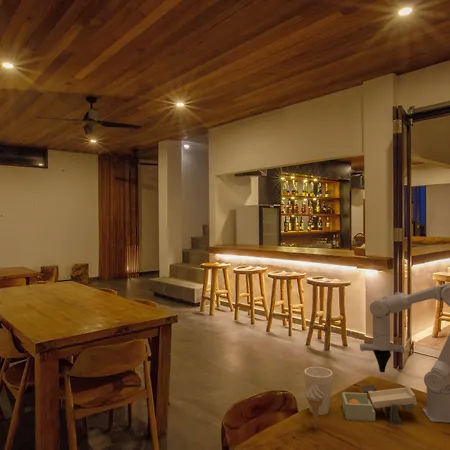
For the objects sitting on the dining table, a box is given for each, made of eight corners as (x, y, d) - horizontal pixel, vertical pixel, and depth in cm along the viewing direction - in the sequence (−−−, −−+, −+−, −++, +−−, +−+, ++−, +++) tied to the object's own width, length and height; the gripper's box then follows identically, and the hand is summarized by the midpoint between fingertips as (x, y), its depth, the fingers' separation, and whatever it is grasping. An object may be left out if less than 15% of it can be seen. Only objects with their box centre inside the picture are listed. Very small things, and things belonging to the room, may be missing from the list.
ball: (356, 395, 131) (345, 398, 132) (358, 400, 127) (346, 404, 128) (361, 406, 131) (349, 410, 132) (363, 412, 127) (351, 416, 128)
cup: (369, 408, 133) (369, 393, 133) (375, 421, 124) (375, 405, 124) (341, 406, 135) (341, 392, 135) (345, 419, 126) (345, 404, 126)
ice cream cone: (314, 435, 117) (313, 385, 117) (302, 426, 122) (301, 378, 122) (328, 430, 120) (328, 381, 119) (316, 422, 125) (315, 375, 124)
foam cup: (334, 418, 127) (333, 378, 127) (304, 416, 129) (304, 376, 129) (332, 404, 136) (331, 367, 136) (304, 402, 138) (304, 365, 138)
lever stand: (393, 407, 133) (392, 391, 133) (403, 424, 122) (402, 407, 122) (380, 407, 134) (380, 391, 134) (389, 424, 123) (389, 406, 123)
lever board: (403, 389, 138) (400, 375, 138) (418, 410, 123) (415, 395, 123) (363, 394, 140) (360, 381, 140) (373, 416, 125) (370, 400, 125)
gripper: (399, 330, 142) (400, 367, 142) (358, 329, 145) (358, 366, 145) (405, 336, 135) (406, 375, 136) (361, 335, 138) (362, 373, 138)
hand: (382, 371), depth 140 cm, fingers closed
